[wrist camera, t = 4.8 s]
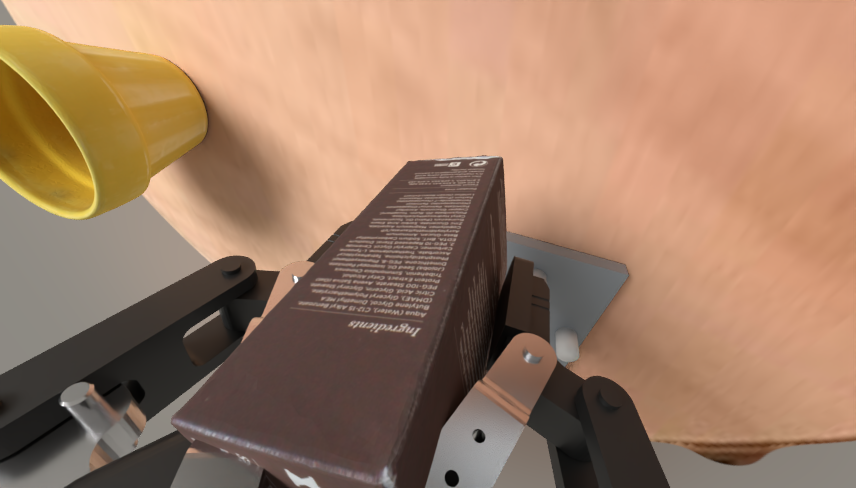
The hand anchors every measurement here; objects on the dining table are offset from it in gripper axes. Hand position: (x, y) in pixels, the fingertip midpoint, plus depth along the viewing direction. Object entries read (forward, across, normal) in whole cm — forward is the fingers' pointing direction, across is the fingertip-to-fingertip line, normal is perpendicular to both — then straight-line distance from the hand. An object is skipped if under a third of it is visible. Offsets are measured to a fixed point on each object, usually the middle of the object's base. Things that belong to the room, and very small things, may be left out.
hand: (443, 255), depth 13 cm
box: (+3, 0, 0) cm, 3 cm away
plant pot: (+11, +25, +2) cm, 27 cm away
